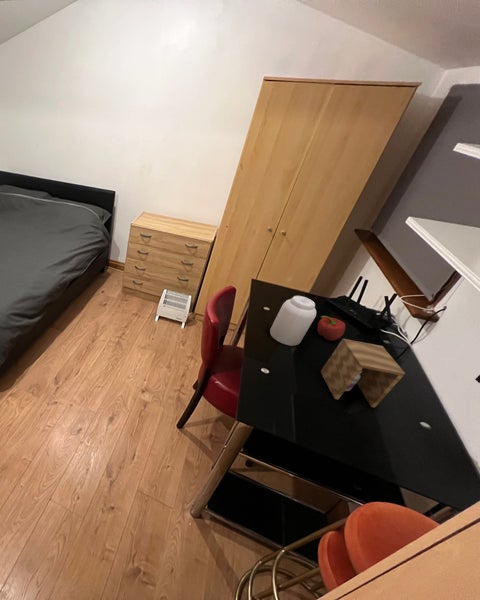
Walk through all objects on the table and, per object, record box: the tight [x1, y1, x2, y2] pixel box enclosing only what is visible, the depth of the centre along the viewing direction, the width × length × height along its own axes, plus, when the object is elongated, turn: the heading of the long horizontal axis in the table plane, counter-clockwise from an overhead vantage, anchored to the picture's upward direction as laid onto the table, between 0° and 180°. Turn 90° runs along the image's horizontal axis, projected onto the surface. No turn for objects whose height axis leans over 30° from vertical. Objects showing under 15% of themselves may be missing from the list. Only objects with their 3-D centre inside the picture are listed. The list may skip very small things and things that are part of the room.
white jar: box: [269, 295, 317, 347], centre depth 139 cm, size 12×12×20 cm
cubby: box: [320, 338, 406, 409], centre depth 116 cm, size 14×13×17 cm
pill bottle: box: [344, 369, 362, 392], centre depth 119 cm, size 5×5×10 cm
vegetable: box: [317, 315, 346, 342], centre depth 145 cm, size 11×10×10 cm
